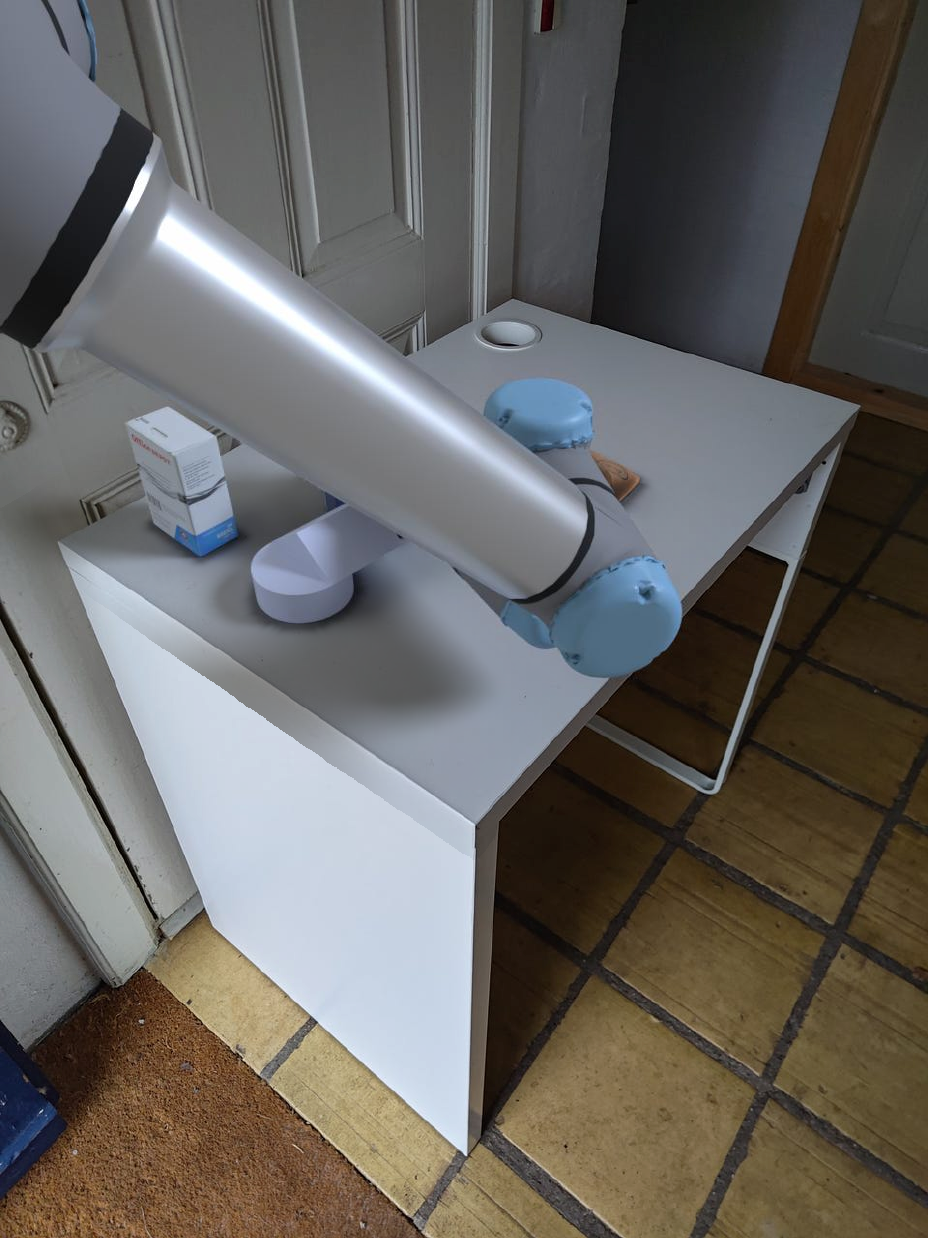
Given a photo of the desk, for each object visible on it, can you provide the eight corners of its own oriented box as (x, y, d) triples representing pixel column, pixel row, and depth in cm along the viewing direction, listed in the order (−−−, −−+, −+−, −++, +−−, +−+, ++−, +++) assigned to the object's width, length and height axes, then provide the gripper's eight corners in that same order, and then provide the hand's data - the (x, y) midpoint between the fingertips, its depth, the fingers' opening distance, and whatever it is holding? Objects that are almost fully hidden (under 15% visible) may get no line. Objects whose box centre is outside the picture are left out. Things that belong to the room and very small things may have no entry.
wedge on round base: (345, 532, 88) (237, 590, 81) (338, 476, 83) (224, 532, 77) (404, 571, 83) (296, 637, 76) (401, 514, 79) (285, 578, 72)
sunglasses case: (646, 475, 95) (638, 442, 89) (615, 527, 94) (605, 498, 88) (511, 425, 103) (496, 392, 97) (481, 473, 102) (463, 442, 96)
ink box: (240, 537, 87) (218, 434, 79) (198, 559, 85) (171, 454, 77) (192, 503, 92) (167, 402, 84) (151, 523, 89) (121, 421, 81)
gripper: (386, 578, 74) (276, 453, 88) (530, 523, 80) (404, 415, 94) (380, 505, 69) (265, 386, 83) (534, 452, 74) (401, 350, 89)
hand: (339, 401), depth 89 cm, fingers closed on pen, 2 cm apart
